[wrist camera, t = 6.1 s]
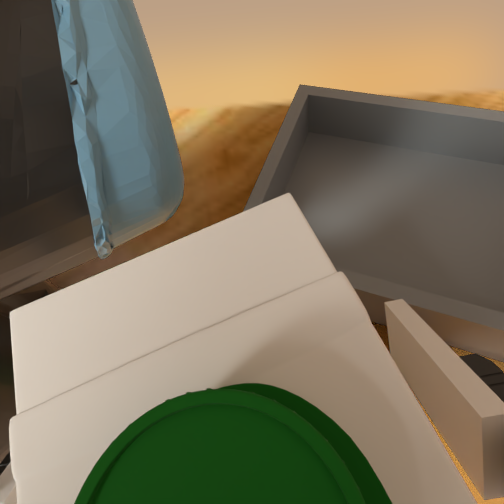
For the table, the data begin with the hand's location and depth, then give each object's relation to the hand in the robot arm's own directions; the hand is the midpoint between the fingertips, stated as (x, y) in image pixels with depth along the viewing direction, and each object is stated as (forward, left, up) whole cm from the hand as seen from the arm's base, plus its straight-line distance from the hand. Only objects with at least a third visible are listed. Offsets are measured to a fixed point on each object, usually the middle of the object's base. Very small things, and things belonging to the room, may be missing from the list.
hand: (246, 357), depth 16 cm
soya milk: (+1, -2, -10) cm, 10 cm away
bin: (+6, +14, -9) cm, 18 cm away
